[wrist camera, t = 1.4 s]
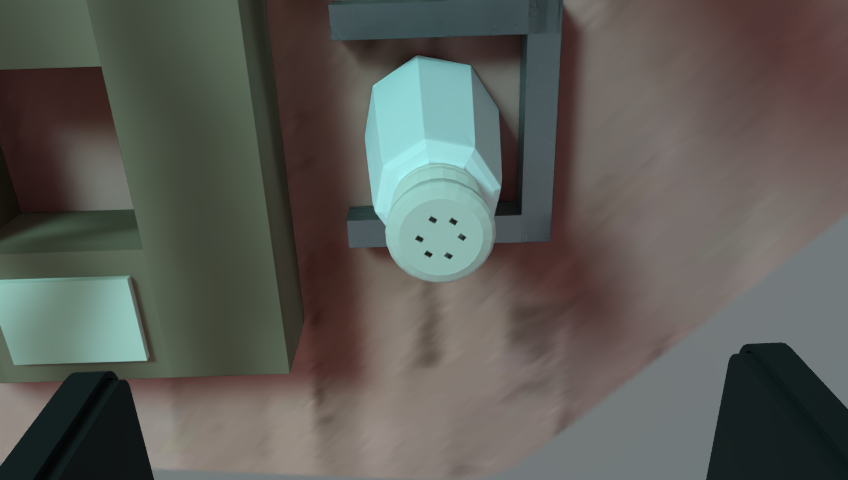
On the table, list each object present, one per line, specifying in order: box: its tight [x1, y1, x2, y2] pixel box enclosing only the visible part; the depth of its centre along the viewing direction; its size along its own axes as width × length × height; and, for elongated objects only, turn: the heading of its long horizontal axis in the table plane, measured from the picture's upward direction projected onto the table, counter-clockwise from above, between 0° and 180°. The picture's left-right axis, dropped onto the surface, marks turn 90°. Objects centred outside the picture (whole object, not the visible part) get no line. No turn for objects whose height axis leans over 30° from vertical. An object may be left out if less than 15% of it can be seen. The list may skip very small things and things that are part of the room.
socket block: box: [0, 0, 304, 383], centre depth 25 cm, size 16×18×4 cm
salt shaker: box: [365, 55, 502, 283], centre depth 22 cm, size 5×5×11 cm
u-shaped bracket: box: [328, 0, 563, 248], centre depth 26 cm, size 8×9×2 cm
